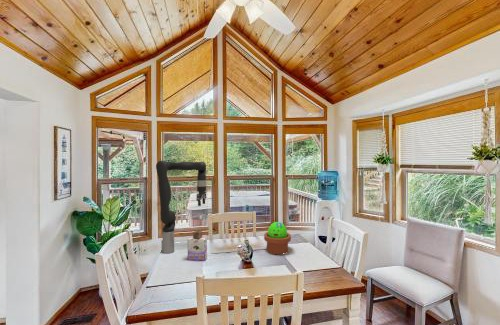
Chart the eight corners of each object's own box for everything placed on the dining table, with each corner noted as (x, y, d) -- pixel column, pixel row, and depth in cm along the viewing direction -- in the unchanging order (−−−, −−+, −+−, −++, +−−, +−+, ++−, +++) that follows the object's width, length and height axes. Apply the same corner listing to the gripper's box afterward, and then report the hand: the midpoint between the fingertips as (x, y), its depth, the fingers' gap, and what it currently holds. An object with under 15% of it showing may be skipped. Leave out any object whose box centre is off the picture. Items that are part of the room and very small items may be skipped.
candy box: (207, 258, 191) (207, 237, 191) (205, 261, 185) (205, 239, 185) (190, 257, 192) (190, 236, 192) (187, 260, 186) (187, 238, 186)
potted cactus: (267, 245, 219) (267, 217, 219) (292, 247, 214) (292, 219, 213) (261, 254, 198) (261, 223, 198) (289, 257, 192) (289, 225, 192)
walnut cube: (193, 238, 186) (193, 232, 186) (196, 236, 191) (196, 230, 191) (199, 239, 185) (199, 232, 185) (202, 237, 190) (202, 230, 190)
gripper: (201, 184, 214) (201, 203, 214) (193, 186, 200) (193, 206, 200) (209, 184, 212) (209, 203, 212) (202, 186, 198) (202, 206, 199)
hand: (201, 204), depth 206 cm, fingers open, 8 cm apart
